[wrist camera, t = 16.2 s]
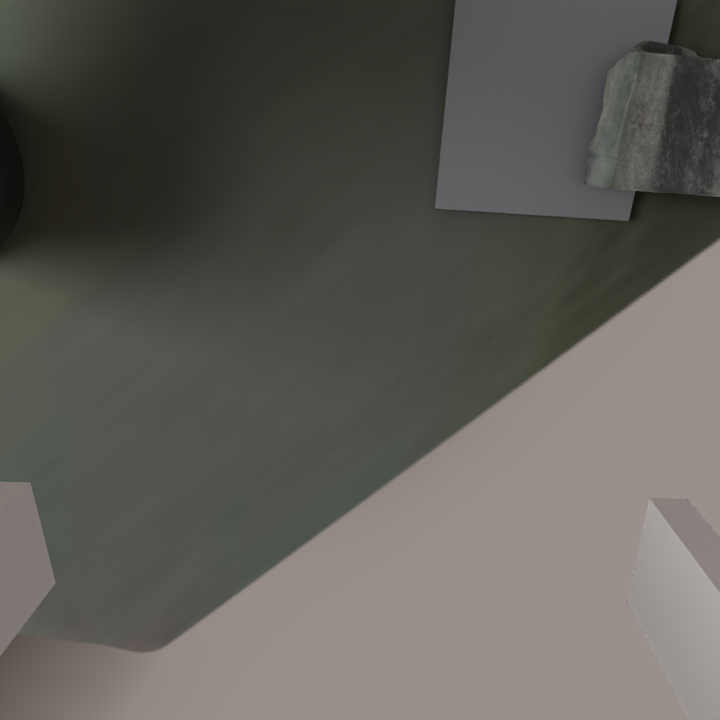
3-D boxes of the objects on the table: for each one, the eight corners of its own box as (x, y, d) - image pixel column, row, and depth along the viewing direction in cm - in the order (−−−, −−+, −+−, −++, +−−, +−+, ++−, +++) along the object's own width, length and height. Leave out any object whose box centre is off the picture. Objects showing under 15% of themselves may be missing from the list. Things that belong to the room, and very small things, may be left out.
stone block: (607, 42, 36) (647, 23, 31) (820, 60, 37) (893, 45, 32) (579, 185, 39) (611, 189, 34) (776, 200, 40) (836, 206, 35)
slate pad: (434, 207, 42) (435, 208, 41) (456, -12, 37) (457, -15, 36) (624, 219, 41) (628, 221, 40) (672, -1, 36) (678, -5, 35)
